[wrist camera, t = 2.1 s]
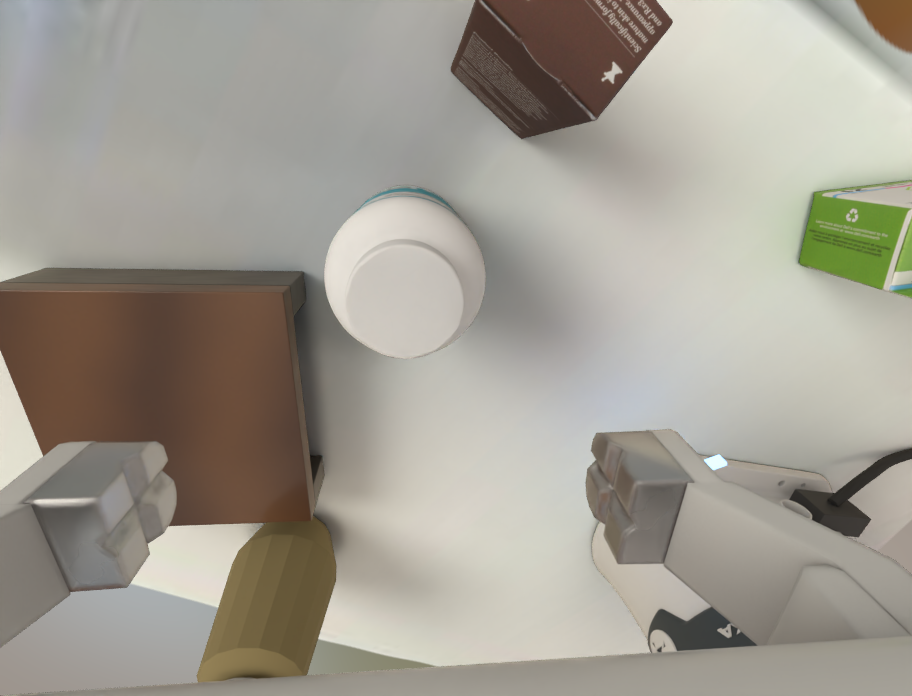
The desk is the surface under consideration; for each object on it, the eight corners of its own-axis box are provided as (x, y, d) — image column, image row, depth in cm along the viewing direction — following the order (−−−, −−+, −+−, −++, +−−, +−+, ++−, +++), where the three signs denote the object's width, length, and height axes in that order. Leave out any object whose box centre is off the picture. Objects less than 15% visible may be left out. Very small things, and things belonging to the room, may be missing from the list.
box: (571, 76, 27) (682, 22, 16) (520, 141, 28) (590, 133, 17) (496, -5, 25) (561, -132, 14) (445, 68, 26) (467, 5, 15)
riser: (303, 271, 30) (283, 292, 25) (324, 475, 37) (311, 521, 32) (45, 267, 28) (-26, 289, 24) (117, 480, 35) (72, 529, 31)
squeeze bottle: (242, 561, 40) (118, 852, 23) (254, 491, 37) (124, 767, 20) (333, 575, 41) (278, 856, 25) (352, 509, 38) (305, 778, 22)
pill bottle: (410, 317, 32) (407, 422, 19) (327, 244, 29) (263, 309, 17) (487, 242, 30) (537, 303, 18) (406, 156, 28) (398, 159, 15)
